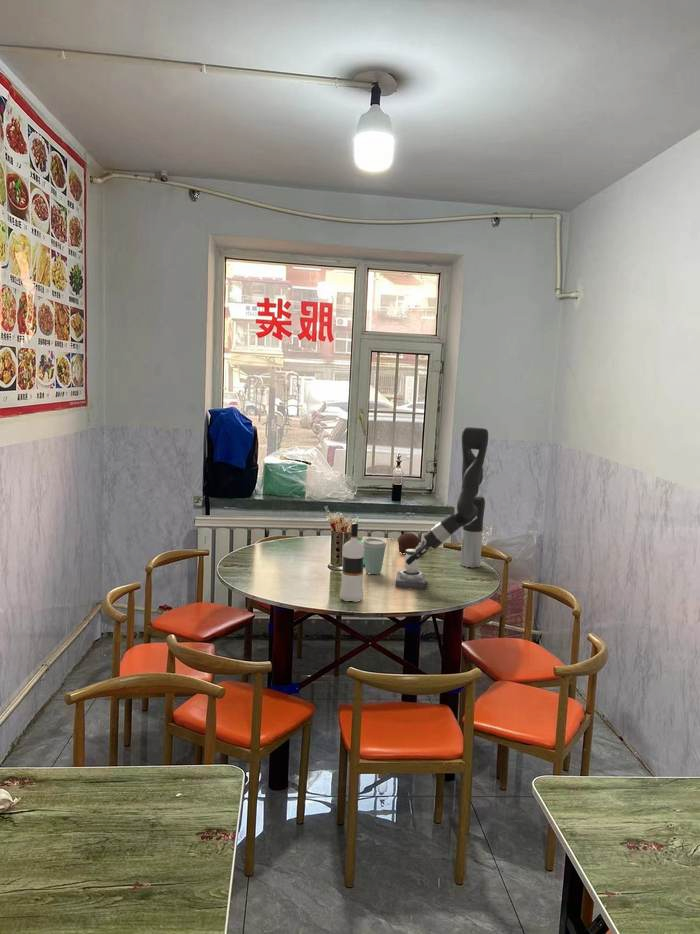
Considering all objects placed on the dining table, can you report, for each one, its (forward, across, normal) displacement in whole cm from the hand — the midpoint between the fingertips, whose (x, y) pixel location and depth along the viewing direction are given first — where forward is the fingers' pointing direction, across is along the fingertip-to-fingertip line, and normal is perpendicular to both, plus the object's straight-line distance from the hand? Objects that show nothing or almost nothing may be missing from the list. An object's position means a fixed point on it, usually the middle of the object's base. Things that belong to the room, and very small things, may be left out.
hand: (407, 561), depth 287 cm
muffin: (+8, -54, +6) cm, 55 cm away
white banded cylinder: (+2, 0, +4) cm, 5 cm away
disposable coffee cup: (+18, -12, -4) cm, 22 cm away
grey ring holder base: (+6, 0, +8) cm, 10 cm away
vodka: (+21, +27, -7) cm, 35 cm away
